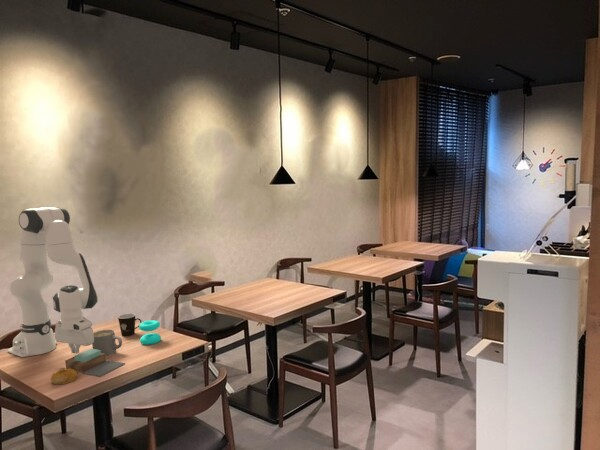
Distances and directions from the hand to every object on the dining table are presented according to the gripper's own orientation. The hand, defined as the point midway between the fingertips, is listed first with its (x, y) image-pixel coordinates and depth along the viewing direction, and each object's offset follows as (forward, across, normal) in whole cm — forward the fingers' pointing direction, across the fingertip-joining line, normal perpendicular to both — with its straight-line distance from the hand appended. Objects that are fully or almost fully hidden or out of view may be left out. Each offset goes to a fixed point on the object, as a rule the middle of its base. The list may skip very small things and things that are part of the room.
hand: (75, 352), depth 212 cm
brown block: (+5, +6, 0) cm, 8 cm away
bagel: (+6, +9, -14) cm, 17 cm away
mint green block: (+1, +8, 0) cm, 8 cm away
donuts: (+6, +14, +33) cm, 36 cm away
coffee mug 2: (+5, -4, +38) cm, 39 cm away
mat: (+5, +16, 0) cm, 17 cm away
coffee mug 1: (+5, +4, +14) cm, 16 cm away
